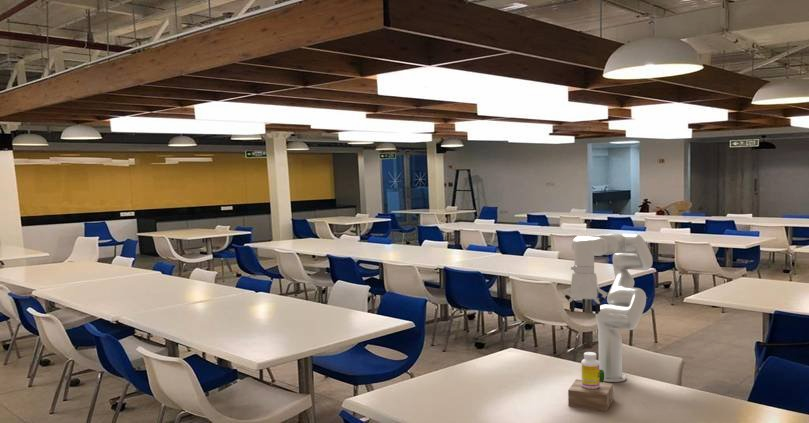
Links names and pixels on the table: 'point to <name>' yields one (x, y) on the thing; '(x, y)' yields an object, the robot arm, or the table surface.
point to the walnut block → (590, 396)
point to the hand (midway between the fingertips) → (584, 312)
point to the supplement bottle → (590, 371)
